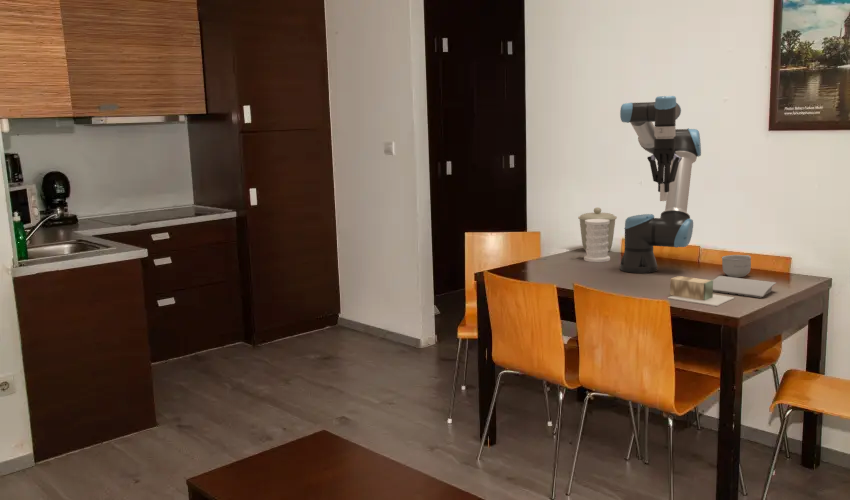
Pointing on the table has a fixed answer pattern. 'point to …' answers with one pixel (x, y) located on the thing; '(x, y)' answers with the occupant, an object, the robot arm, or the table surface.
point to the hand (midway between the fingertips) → (663, 200)
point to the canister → (597, 215)
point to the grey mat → (713, 301)
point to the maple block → (691, 287)
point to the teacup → (736, 265)
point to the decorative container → (597, 240)
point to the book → (742, 286)
